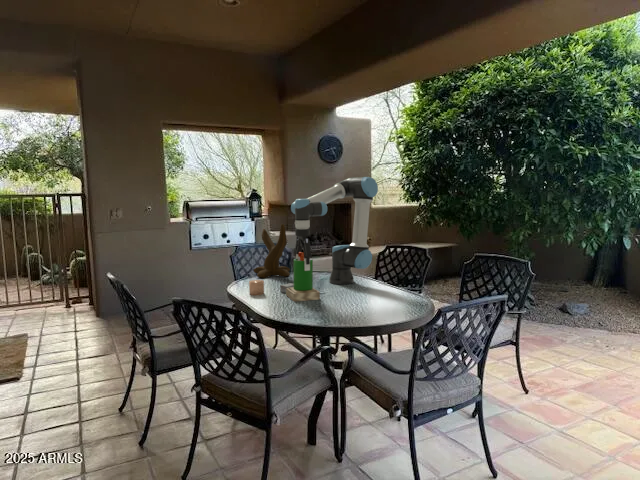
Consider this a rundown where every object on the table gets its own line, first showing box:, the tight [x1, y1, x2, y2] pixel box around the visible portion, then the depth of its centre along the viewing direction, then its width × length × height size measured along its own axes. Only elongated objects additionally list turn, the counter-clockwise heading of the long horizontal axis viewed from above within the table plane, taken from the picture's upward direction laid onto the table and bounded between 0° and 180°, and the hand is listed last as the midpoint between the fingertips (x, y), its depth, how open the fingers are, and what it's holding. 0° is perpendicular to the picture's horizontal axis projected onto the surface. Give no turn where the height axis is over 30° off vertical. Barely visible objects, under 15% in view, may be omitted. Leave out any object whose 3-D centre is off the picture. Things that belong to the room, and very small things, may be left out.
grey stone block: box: [280, 282, 294, 294], centre depth 245 cm, size 8×5×4 cm, turn 141°
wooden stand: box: [253, 223, 291, 279], centre depth 293 cm, size 29×29×35 cm
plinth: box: [285, 287, 321, 302], centre depth 231 cm, size 14×14×5 cm
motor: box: [293, 251, 314, 291], centre depth 230 cm, size 10×9×20 cm
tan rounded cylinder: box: [248, 279, 265, 297], centre depth 239 cm, size 8×8×7 cm
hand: (303, 268), depth 230 cm, fingers open, 13 cm apart
